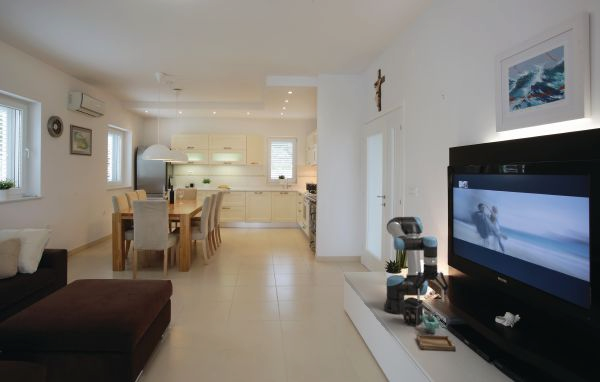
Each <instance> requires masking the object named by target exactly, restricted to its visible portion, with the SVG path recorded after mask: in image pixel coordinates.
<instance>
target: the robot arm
mask: <svg viewBox="0 0 600 382" xmlns="http://www.w3.org/2000/svg"><path fill="white" fill-rule="evenodd" d="M423 227H424V226H423V222H422V220H421V218H420V217H418V216H395V217H393V218H391V219H390V220H389V221H388V222H387V224H386V231H387V232H388V233H389V234H390V235H391V237H392V238H393V248H394V251H405V252H406V257H407V258H406V260H407V270H408V271H407V274H406V276H404V275H402V274H393V275H389V276H388V277H387V278H386V300H385V302H384V305H383V310H384V312H387V313H388V314H393V315H403V312H402V310H404V300H405V296H407V297H408V296H409V297H410V296H413V297H414V296H416V299H417V300H418V301H420V300H421V299H420V298H421V297H420V296H425V295H426V294H427V292H428V285H429V282H428V281H436V282H437V283H438V284H439V286H440V287H441V297H440V298H441V299H440V300H441V301H442V302H445V296H446V294H447V290H449V289H450V285H449V284H448V282H447V281H446V279H445V277H444V273H443V271H439V272H438V238H437V237H435V236H421V234H422V233H423ZM420 251H423V271H422V265H421V253H420ZM438 276H439V277H440V278H441V281H442V282H443V284H442V282H441V281H440V280H439V278H438ZM444 285H445V286H444Z"/></svg>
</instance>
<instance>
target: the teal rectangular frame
mask: <svg viewBox="0 0 600 382" xmlns="http://www.w3.org/2000/svg"><path fill="white" fill-rule="evenodd" d="M422 321H423V322H422V323H423V325H424V327H425V329H426V328H431V329H432V330H435V331H436V330H437V329H440V322H439V321H438V319H437V318H436V315H433V322H428V315H426V314H425V315H424V314H423V315H422Z"/></svg>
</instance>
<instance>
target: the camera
mask: <svg viewBox="0 0 600 382" xmlns="http://www.w3.org/2000/svg"><path fill="white" fill-rule="evenodd" d="M402 312H403V314H402V317H403V320H404V321H405V324H407V325H411V326H413V327H417V326H419V325H421V324H422V323H423V321H422V315H424V304H423V299H420V301H418V300H417V297H414V296H413V297H410V296H409V297H407V298H404V310H402Z"/></svg>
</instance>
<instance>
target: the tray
mask: <svg viewBox="0 0 600 382" xmlns="http://www.w3.org/2000/svg"><path fill="white" fill-rule="evenodd" d="M416 340H417V343H418V345H419V347H420V350H421V351H435V352H436V351H439V352H456V346H455V344H454V342H453V341H452V340H451V338H450V337H449V335H429V334H427V335H426V334H416Z"/></svg>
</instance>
